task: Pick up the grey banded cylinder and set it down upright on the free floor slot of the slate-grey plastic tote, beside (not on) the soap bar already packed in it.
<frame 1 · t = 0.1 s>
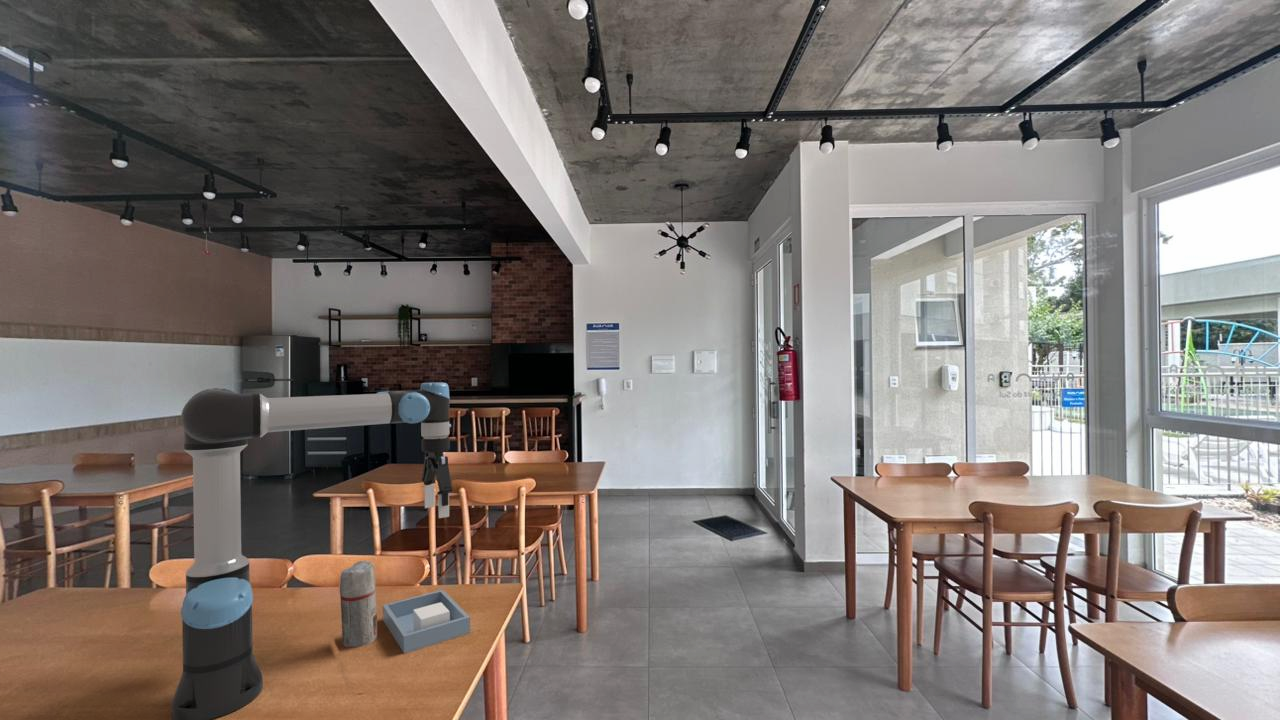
hand: (436, 512, 156), 28 cm above the table, fingers open, 13 cm apart
grey banded cylinder: (360, 644, 138), on the table
soap bar: (431, 634, 140), point 1 cm above the table, touching tote
tote: (425, 629, 144), on the table
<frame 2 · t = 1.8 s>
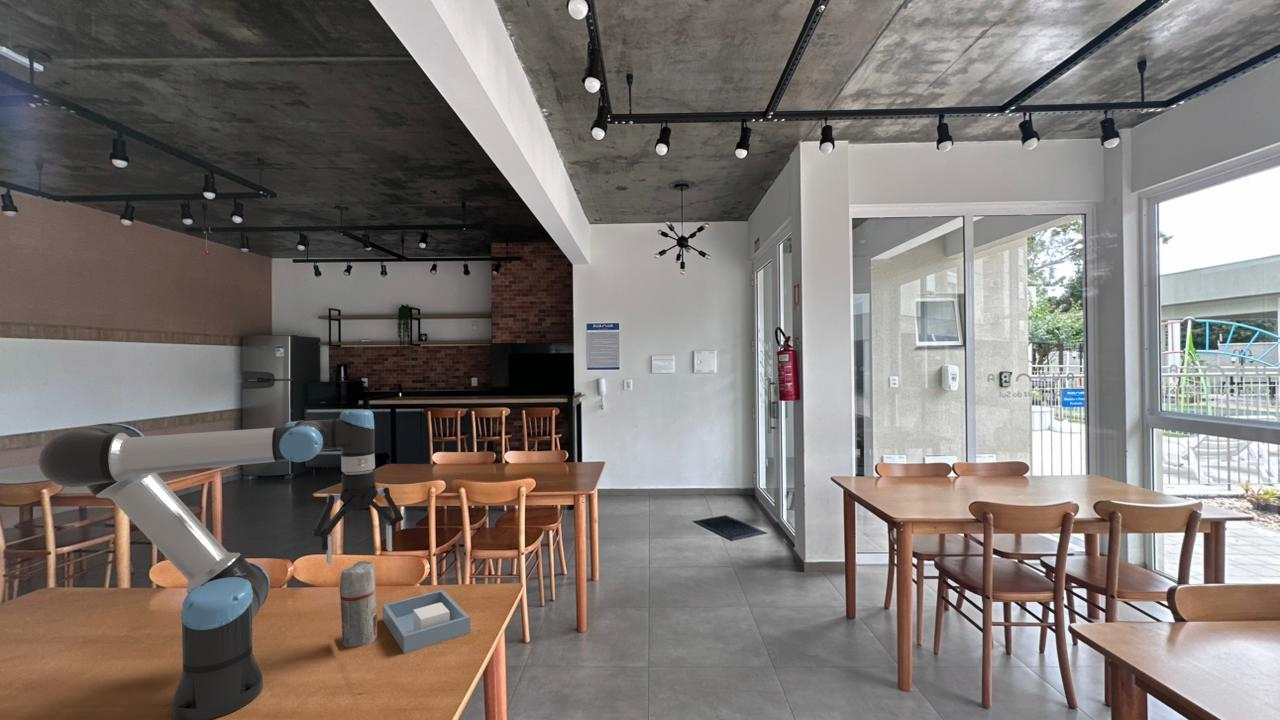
hand: (360, 556, 138), 22 cm above the table, fingers open, 13 cm apart
nothing on the table moved.
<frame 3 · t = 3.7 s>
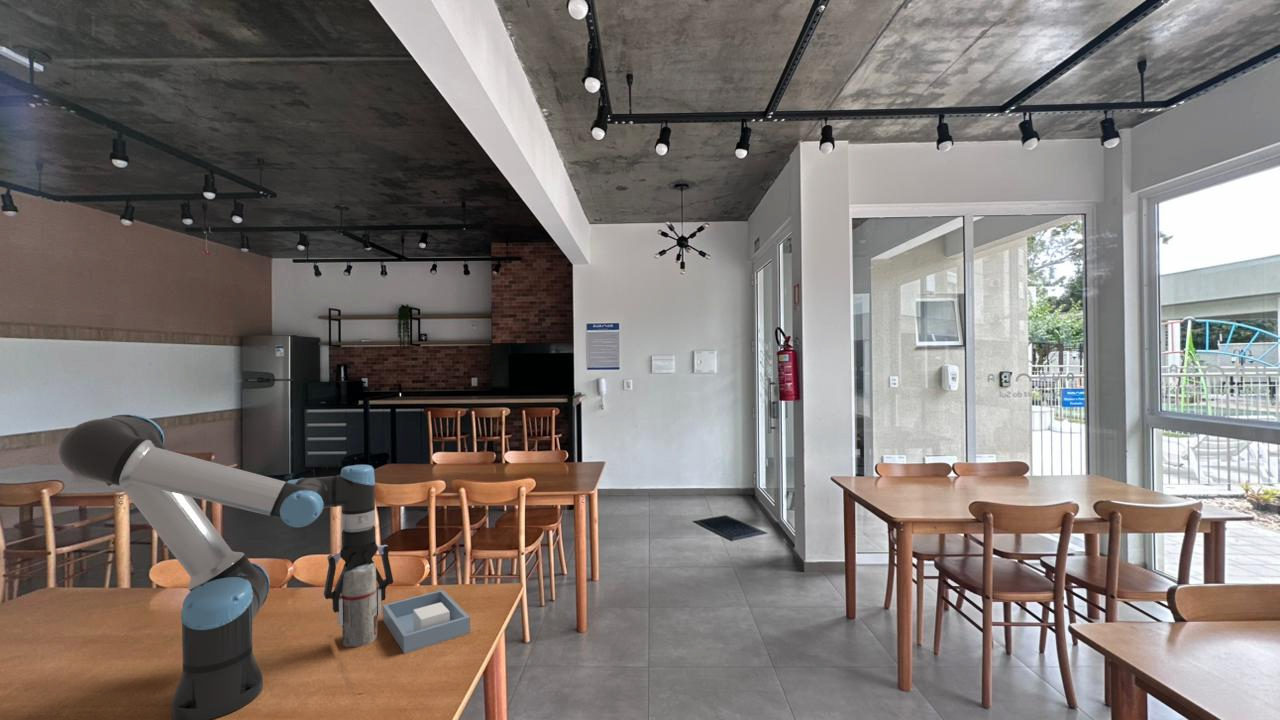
hand: (359, 618, 138), 6 cm above the table, fingers closed on grey banded cylinder, 8 cm apart
grey banded cylinder: (360, 644, 138), on the table, touching gripper
everything else where it was.
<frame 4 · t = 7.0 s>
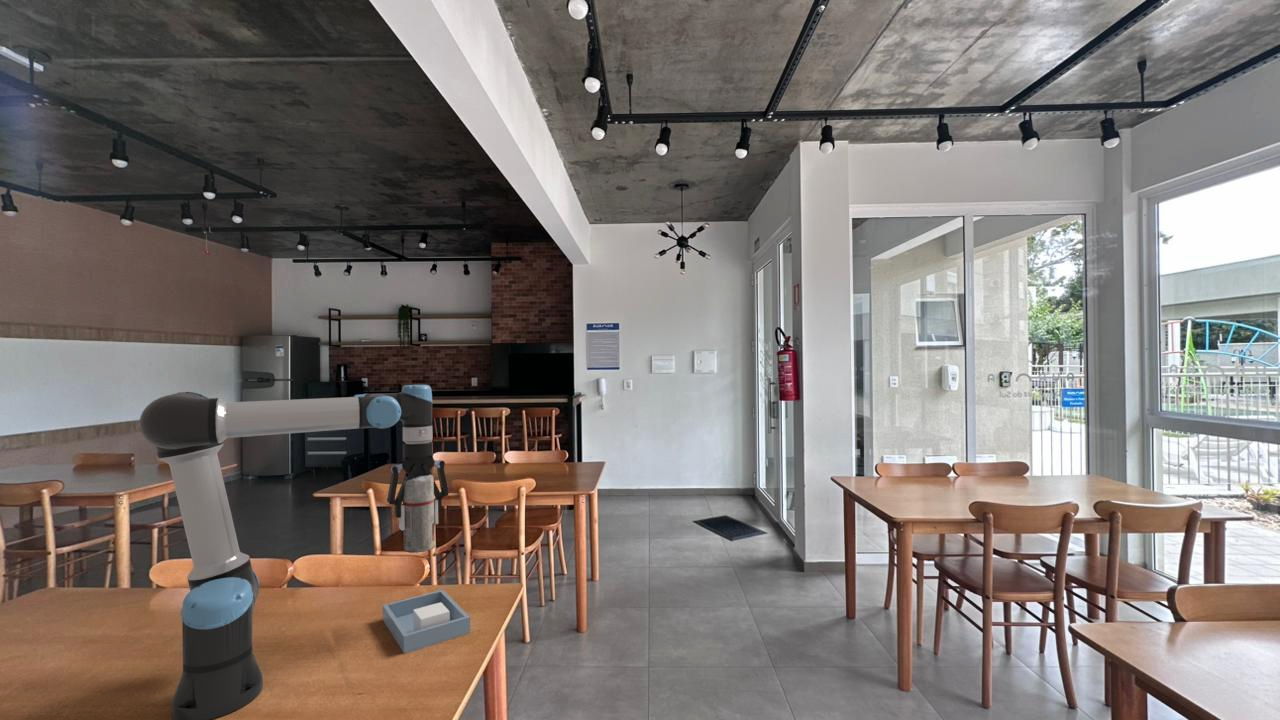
hand: (418, 526, 149), 26 cm above the table, fingers closed on grey banded cylinder, 8 cm apart
grey banded cylinder: (419, 549, 148), point 20 cm above the table, touching gripper
everything else where it was.
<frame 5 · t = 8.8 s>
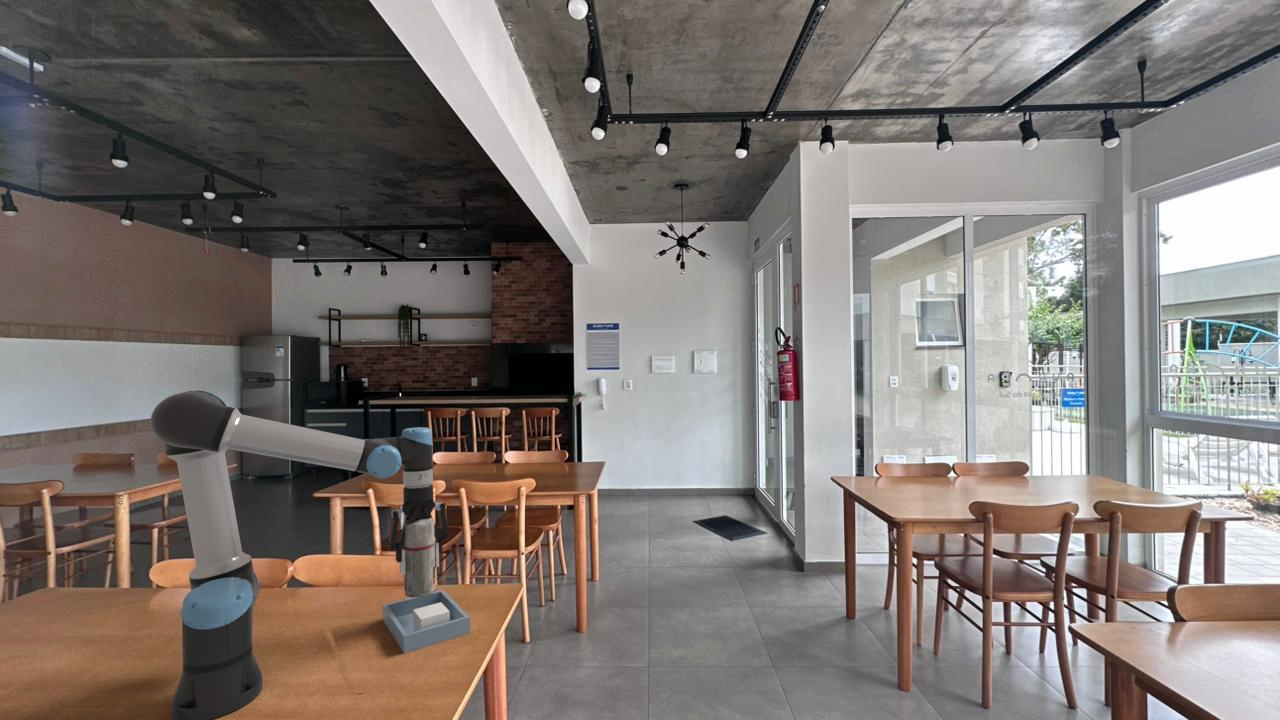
hand: (419, 569, 148), 14 cm above the table, fingers closed on grey banded cylinder, 8 cm apart
grey banded cylinder: (420, 592, 148), point 8 cm above the table, touching gripper
everything else where it was.
when the fingers open (9 cm above the table, at t = 10.4 s): grey banded cylinder drops 2 cm, resting on tote.
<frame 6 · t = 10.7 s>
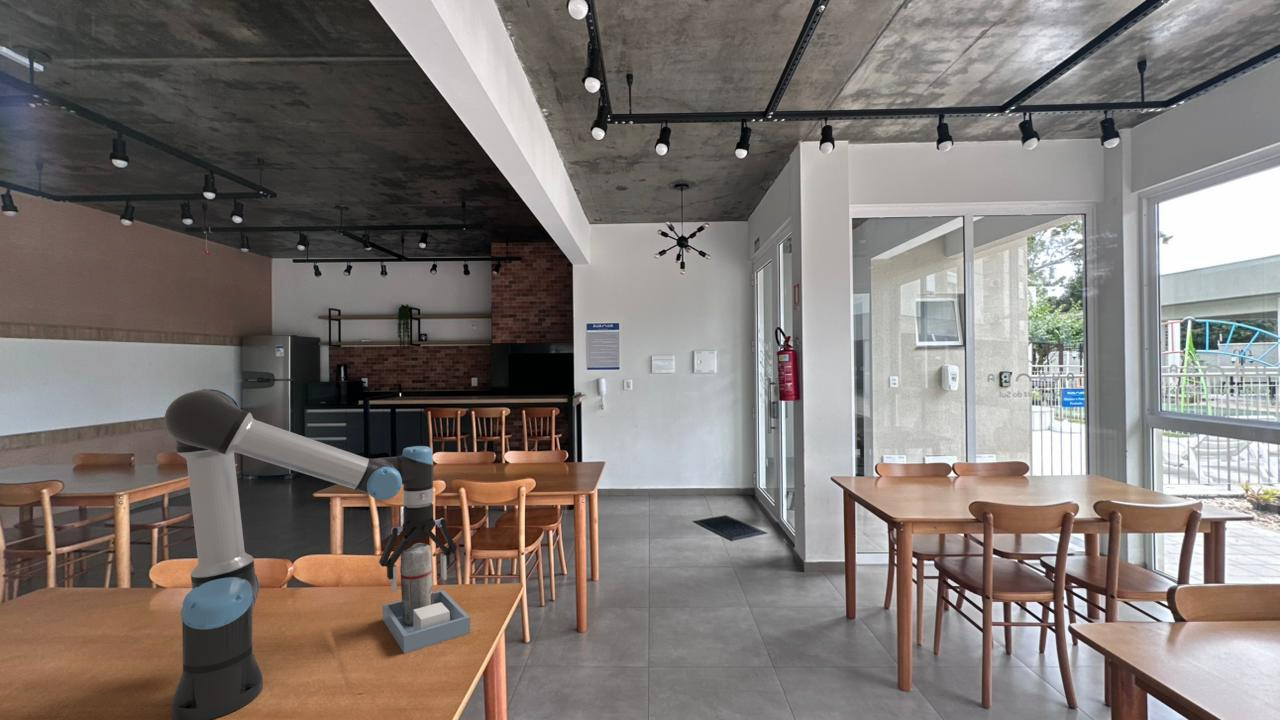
hand: (419, 584, 148), 10 cm above the table, fingers open, 12 cm apart
grey banded cylinder: (418, 620, 148), point 1 cm above the table, touching tote
everything else where it was.
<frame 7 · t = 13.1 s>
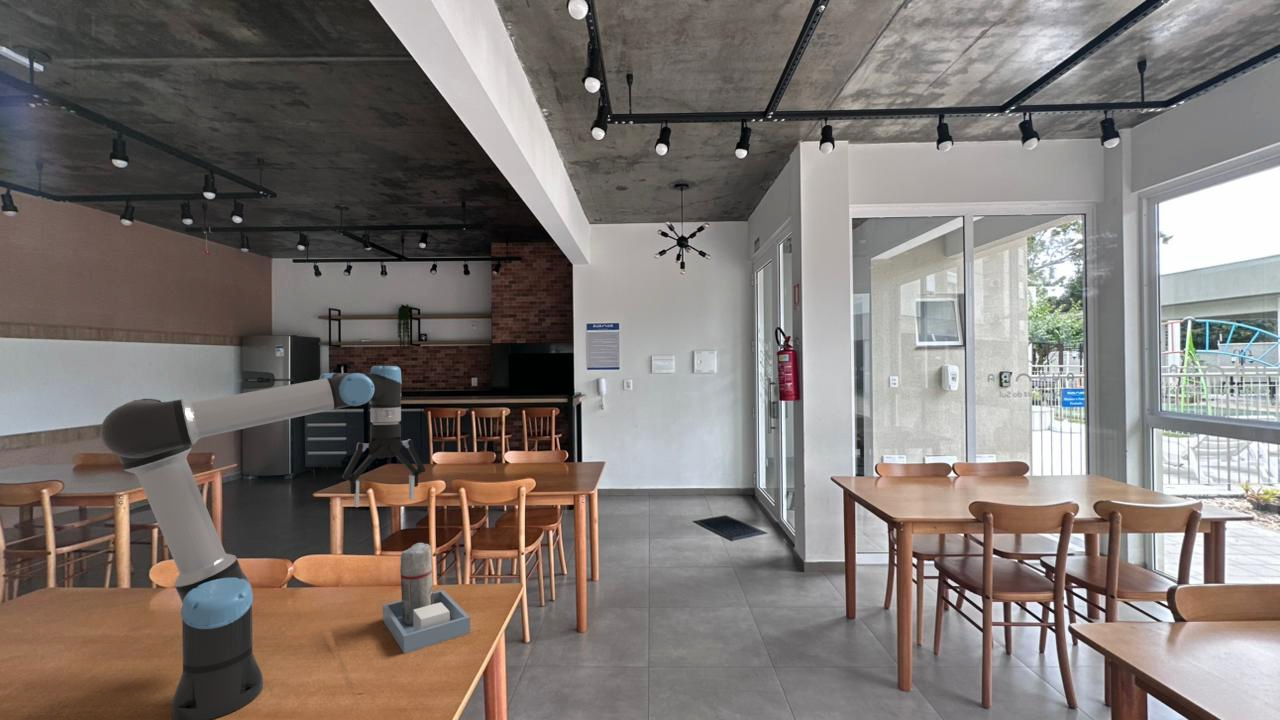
hand: (384, 502, 148), 33 cm above the table, fingers open, 13 cm apart
nothing on the table moved.
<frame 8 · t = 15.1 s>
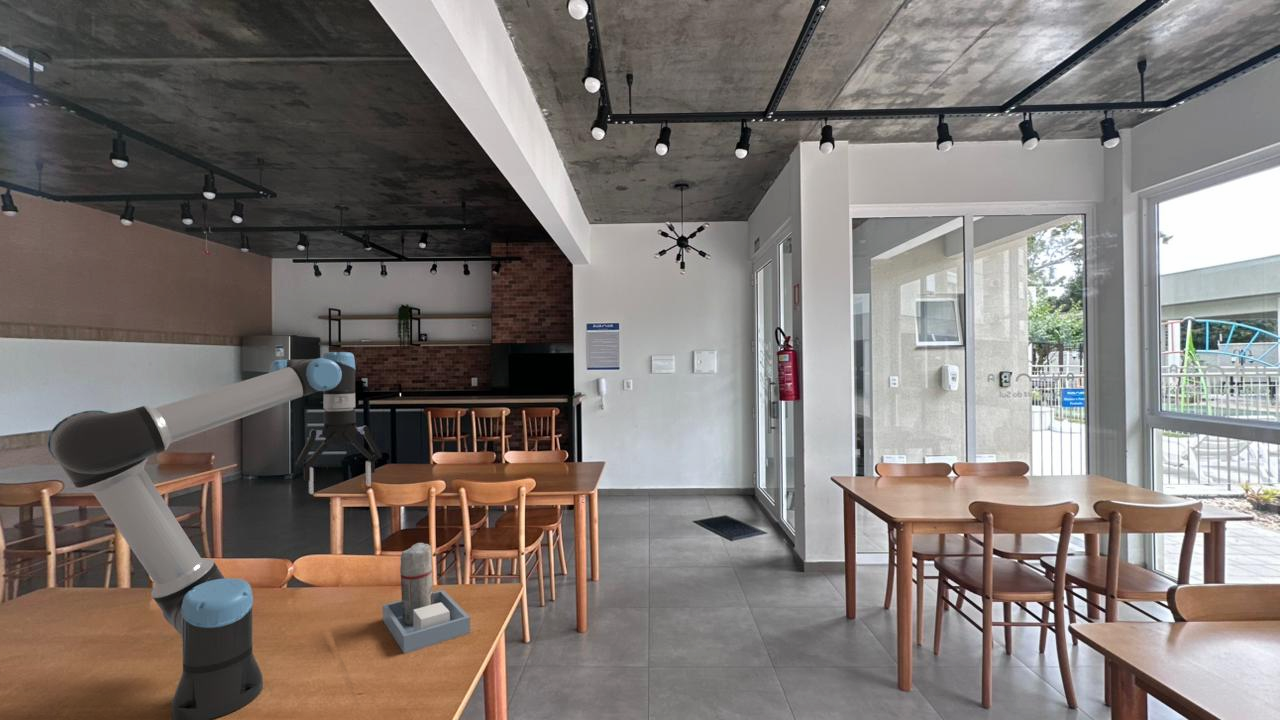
hand: (340, 489, 147), 37 cm above the table, fingers open, 13 cm apart
nothing on the table moved.
at the end: grey banded cylinder inside the target area on the tote (0.6 cm from its centre), point 0.8 cm above the tote's base; grey banded cylinder tilted 0°; soap bar moved 0.0 cm from its start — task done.
